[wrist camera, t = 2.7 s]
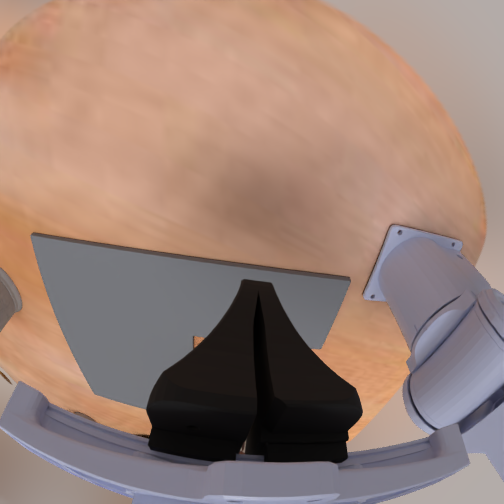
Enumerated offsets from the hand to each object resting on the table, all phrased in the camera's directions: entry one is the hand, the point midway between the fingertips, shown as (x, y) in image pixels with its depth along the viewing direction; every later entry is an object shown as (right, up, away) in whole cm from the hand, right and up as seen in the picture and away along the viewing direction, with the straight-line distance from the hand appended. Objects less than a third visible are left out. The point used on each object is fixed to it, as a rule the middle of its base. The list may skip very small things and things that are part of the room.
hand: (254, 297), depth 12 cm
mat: (-10, -12, +19) cm, 24 cm away
